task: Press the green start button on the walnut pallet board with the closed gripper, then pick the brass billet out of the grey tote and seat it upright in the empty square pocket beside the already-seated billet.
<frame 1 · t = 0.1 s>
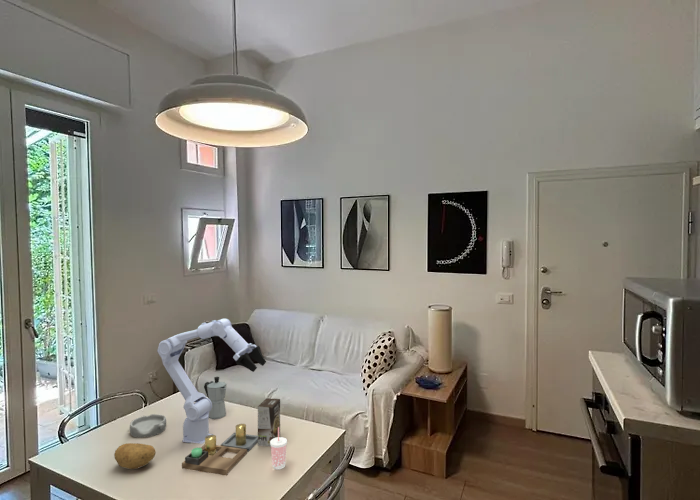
hand: (259, 366, 153), 32 cm above the table, tool tilted 50°, fingers open, 7 cm apart
tote: (240, 444, 156), on the table
dish: (148, 431, 168), on the table
potato: (135, 467, 141), on the table
coffee box: (269, 442, 158), on the table
billet: (240, 443, 156), point 1 cm above the table, touching tote
coffee maker: (215, 415, 184), on the table
pallet board: (215, 461, 144), on the table
seated billet: (210, 455, 148), resting in pallet board
start button: (196, 453, 141), point 4 cm above the table, slide at 0.0 cm
beverage cup: (278, 466, 141), on the table
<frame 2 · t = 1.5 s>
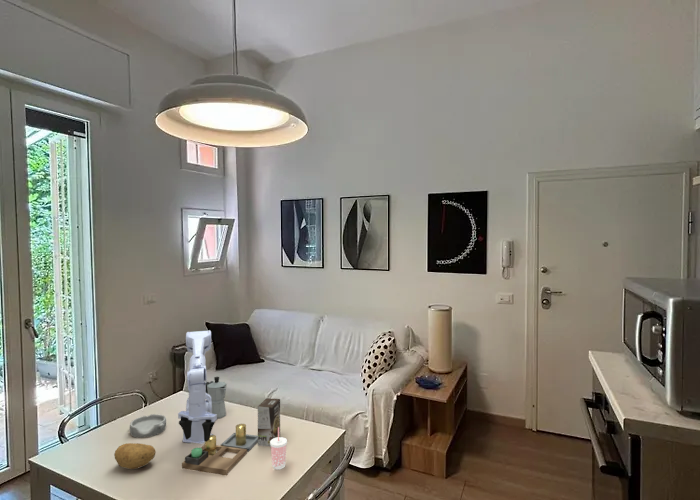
hand: (197, 439, 141), 10 cm above the table, tool pointing down, fingers open, 7 cm apart
nothing on the table moved.
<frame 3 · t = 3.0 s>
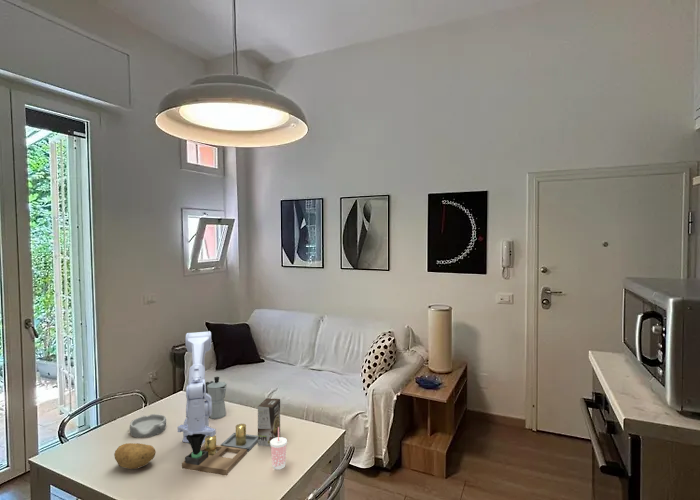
hand: (196, 453, 141), 5 cm above the table, tool pointing down, fingers closed, pressing on start button
start button: (196, 456, 141), point 3 cm above the table, slide at 1.0 cm, touching gripper
everything else where it was.
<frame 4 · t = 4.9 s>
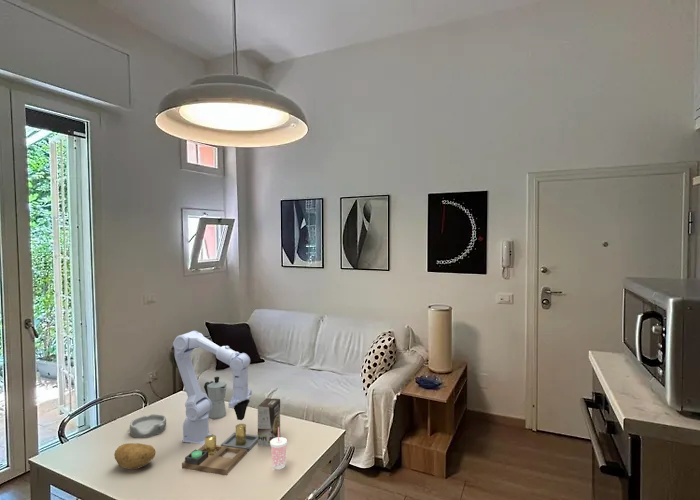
hand: (240, 418, 156), 10 cm above the table, tool pointing down, fingers closed
start button: (196, 456, 141), point 3 cm above the table, slide at 1.0 cm
everything else where it was.
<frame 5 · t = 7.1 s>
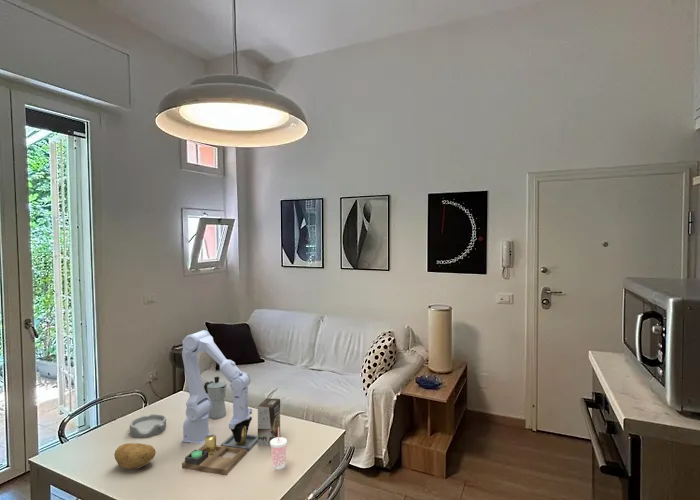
hand: (240, 438, 156), 2 cm above the table, tool pointing down, fingers closed on billet, 4 cm apart
billet: (240, 443, 156), point 1 cm above the table, touching gripper, tote
everything else where it was.
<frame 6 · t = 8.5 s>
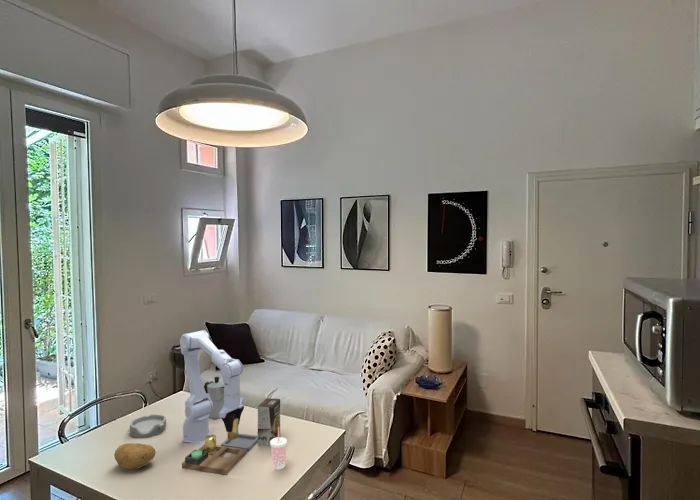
hand: (232, 428, 148), 10 cm above the table, tool pointing down, fingers closed on billet, 4 cm apart
billet: (232, 437, 148), point 7 cm above the table, touching gripper
everything else where it was.
when the fingers open (3 cm above the table, at t = 10.4 s): billet stays where it is, resting in pallet board.
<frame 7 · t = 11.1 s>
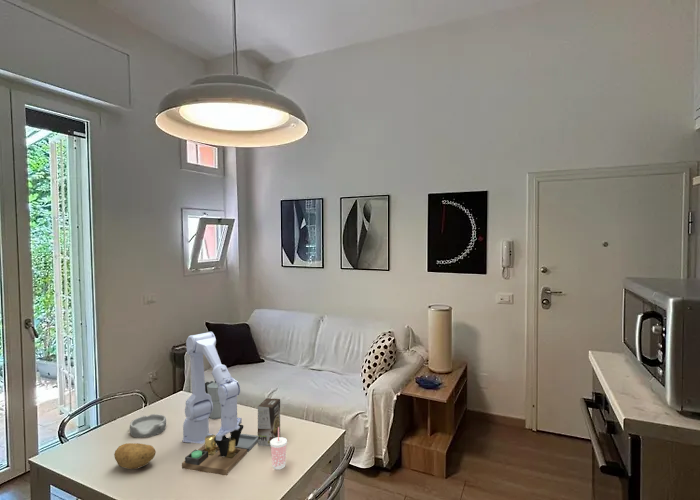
hand: (229, 450, 146), 3 cm above the table, tool pointing down, fingers open, 7 cm apart
billet: (229, 458, 146), resting in pallet board
everything else where it was.
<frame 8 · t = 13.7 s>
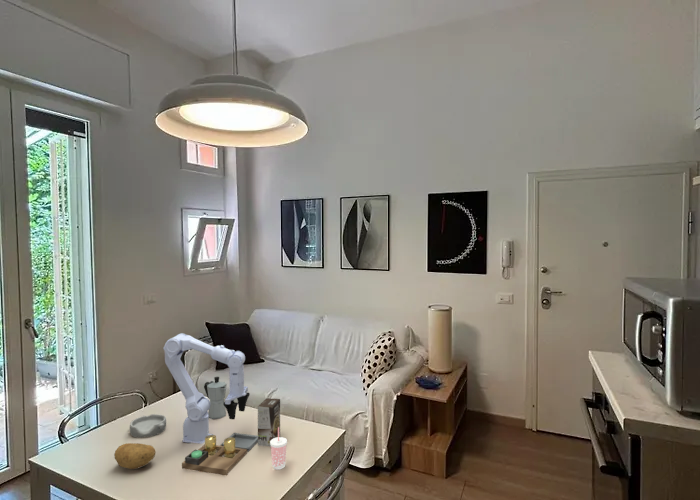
hand: (237, 414, 161), 10 cm above the table, tool pointing down, fingers open, 7 cm apart
nothing on the table moved.
at the end: billet 0.1 cm from the target spot on the pallet board, point 0.0 cm above the pallet board's base; billet tilted 0°; start button slide at 1.0 cm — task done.
